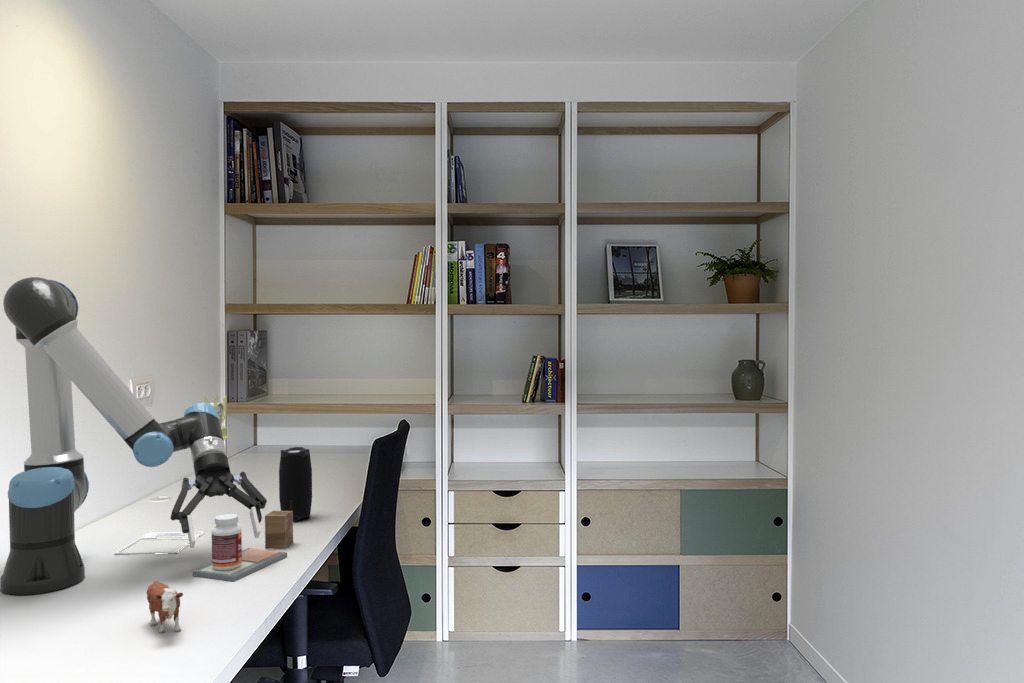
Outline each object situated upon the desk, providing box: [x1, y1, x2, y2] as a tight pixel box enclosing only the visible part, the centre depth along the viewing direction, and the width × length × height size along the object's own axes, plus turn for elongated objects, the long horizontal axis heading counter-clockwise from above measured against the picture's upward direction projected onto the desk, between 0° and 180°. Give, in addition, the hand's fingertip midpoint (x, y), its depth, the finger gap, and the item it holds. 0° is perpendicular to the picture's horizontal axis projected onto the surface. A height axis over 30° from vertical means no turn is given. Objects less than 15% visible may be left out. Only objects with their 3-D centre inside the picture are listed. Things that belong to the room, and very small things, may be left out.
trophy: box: [204, 394, 230, 441], centre depth 263 cm, size 8×8×30 cm
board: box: [191, 547, 288, 582], centre depth 170 cm, size 18×11×1 cm, turn 160°
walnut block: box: [264, 510, 294, 550], centre depth 185 cm, size 5×5×8 cm
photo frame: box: [113, 530, 206, 556], centre depth 188 cm, size 15×1×18 cm
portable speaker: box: [278, 446, 313, 523], centre depth 211 cm, size 9×9×20 cm
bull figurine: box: [146, 580, 184, 634], centre depth 135 cm, size 4×13×8 cm, turn 36°
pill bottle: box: [211, 513, 243, 570], centre depth 165 cm, size 6×6×11 cm
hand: (226, 539), depth 164 cm, fingers open, 13 cm apart
